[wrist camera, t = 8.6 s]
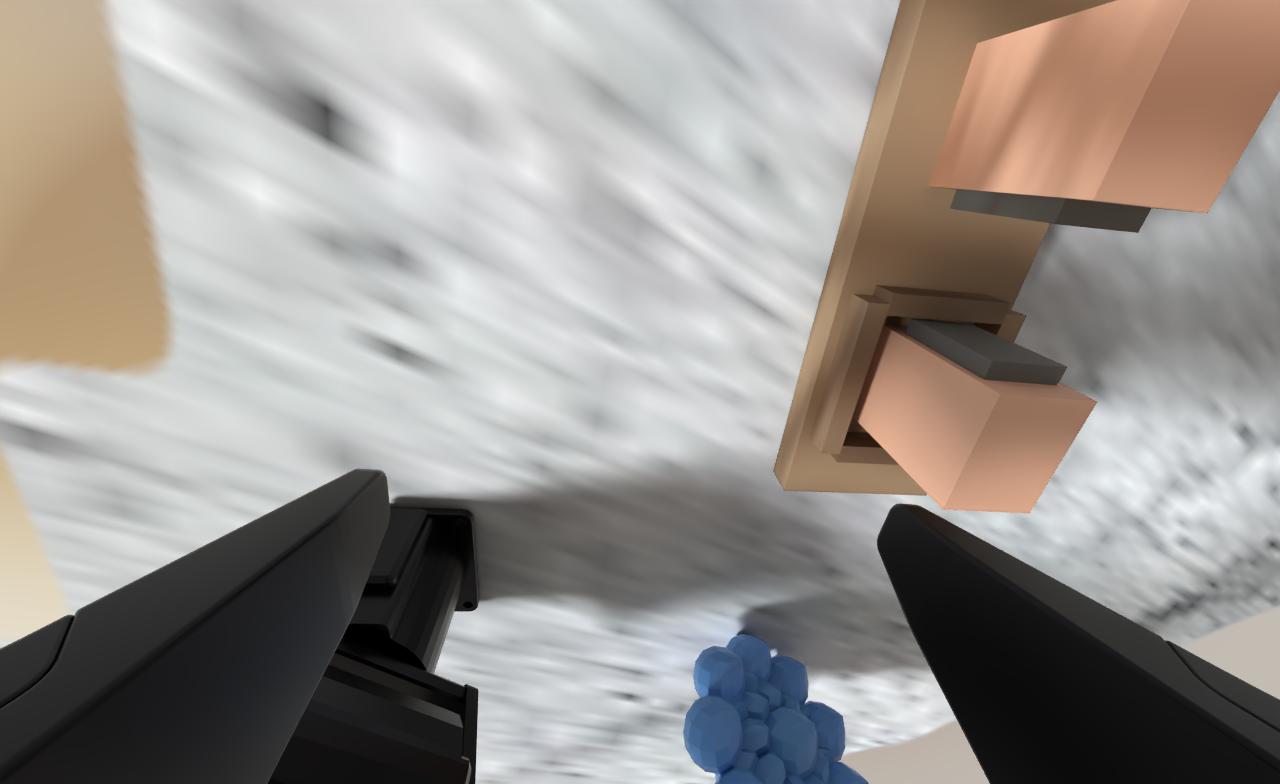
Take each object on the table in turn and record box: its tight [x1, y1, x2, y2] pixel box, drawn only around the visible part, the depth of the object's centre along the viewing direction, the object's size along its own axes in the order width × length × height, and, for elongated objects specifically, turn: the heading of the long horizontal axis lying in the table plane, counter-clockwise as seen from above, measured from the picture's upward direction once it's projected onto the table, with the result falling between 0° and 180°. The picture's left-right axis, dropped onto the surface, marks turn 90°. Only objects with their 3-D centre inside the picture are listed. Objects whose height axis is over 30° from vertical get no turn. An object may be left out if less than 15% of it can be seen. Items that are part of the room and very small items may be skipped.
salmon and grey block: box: [853, 318, 1097, 513], centre depth 16 cm, size 5×3×6 cm, turn 173°
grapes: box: [683, 634, 868, 784], centre depth 23 cm, size 12×7×12 cm, turn 52°
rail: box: [774, 0, 1280, 495], centre depth 15 cm, size 20×7×8 cm, turn 174°
